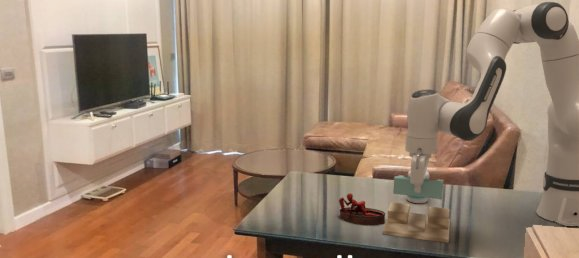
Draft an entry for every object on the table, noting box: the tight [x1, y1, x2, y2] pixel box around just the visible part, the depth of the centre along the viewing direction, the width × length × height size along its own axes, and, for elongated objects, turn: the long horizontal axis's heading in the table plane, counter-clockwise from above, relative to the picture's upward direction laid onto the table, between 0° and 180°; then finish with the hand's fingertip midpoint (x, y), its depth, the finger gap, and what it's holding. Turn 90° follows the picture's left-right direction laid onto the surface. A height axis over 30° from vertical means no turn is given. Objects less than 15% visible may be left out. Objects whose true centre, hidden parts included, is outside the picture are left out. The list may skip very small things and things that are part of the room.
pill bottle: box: [406, 169, 430, 204], centre depth 173 cm, size 8×7×14 cm
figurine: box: [338, 193, 386, 226], centre depth 157 cm, size 15×10×10 cm, turn 80°
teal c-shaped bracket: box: [393, 174, 444, 200], centre depth 149 cm, size 14×12×5 cm
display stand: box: [382, 201, 451, 244], centre depth 149 cm, size 19×16×5 cm
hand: (418, 190), depth 145 cm, fingers closed on teal c-shaped bracket
